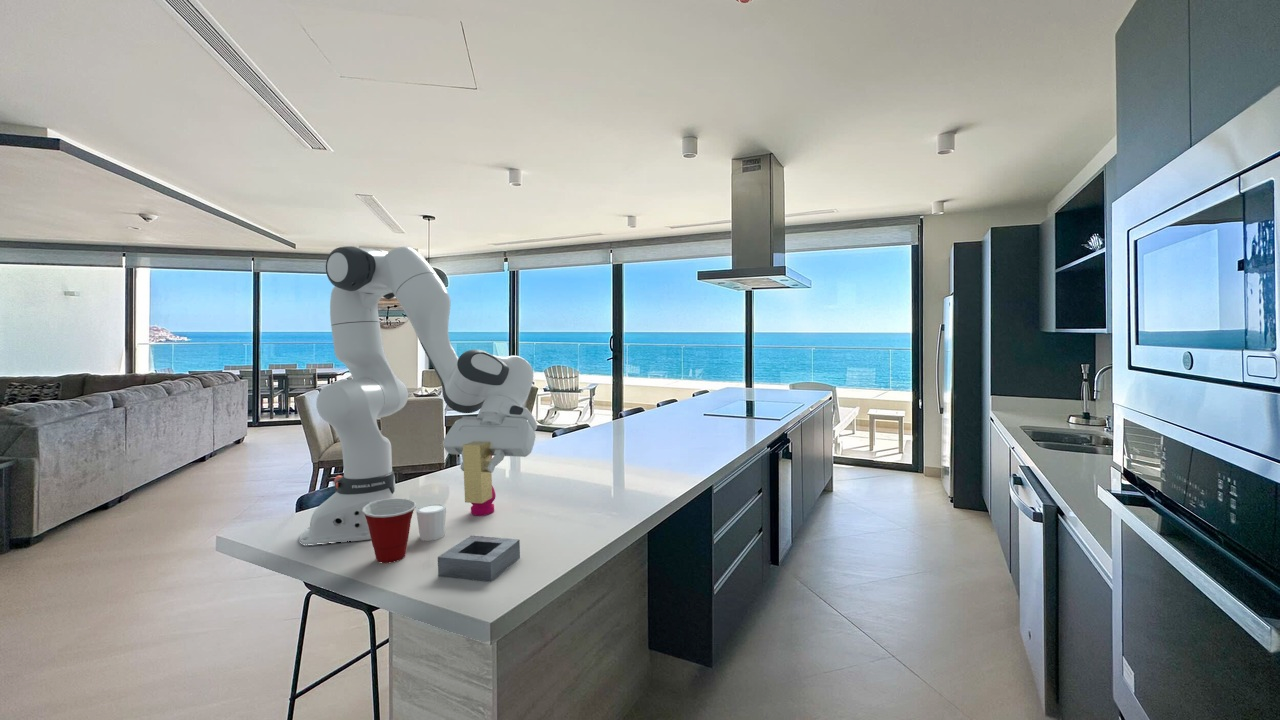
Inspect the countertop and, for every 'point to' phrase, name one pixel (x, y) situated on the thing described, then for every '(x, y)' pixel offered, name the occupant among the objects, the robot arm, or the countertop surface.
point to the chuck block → (479, 558)
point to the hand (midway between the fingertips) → (476, 470)
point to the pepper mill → (484, 506)
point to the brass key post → (477, 472)
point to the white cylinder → (431, 521)
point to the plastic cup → (389, 527)
